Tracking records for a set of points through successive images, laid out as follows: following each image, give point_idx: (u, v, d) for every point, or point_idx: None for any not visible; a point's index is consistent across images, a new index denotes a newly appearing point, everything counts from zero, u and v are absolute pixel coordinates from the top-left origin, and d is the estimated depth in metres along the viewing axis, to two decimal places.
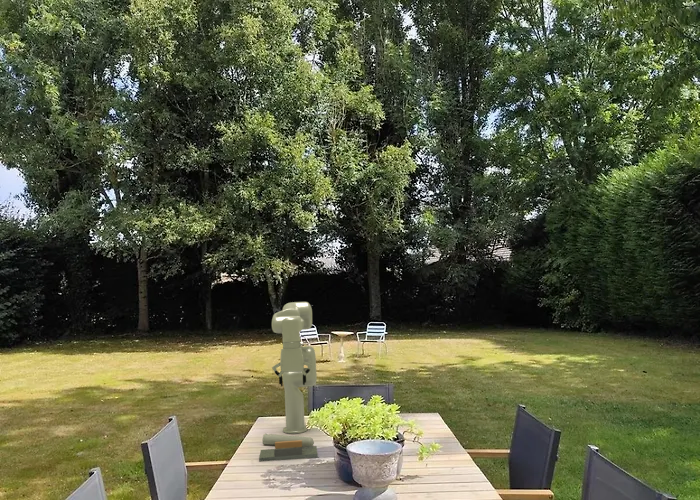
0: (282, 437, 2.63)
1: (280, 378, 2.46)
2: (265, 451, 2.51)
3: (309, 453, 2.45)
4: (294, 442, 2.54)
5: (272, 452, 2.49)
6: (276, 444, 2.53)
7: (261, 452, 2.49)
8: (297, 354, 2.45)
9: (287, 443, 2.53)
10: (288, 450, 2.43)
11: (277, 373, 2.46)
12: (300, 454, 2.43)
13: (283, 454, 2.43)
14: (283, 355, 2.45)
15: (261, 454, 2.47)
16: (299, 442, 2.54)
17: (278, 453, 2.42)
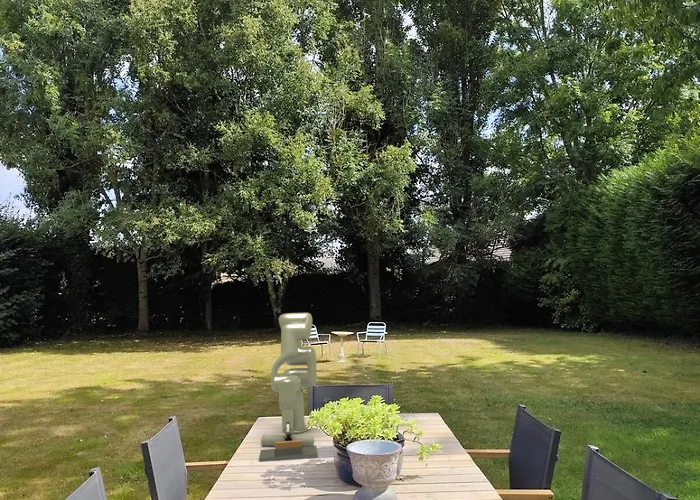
0: (282, 437, 2.62)
1: (290, 439, 2.60)
2: (265, 451, 2.51)
3: (309, 453, 2.45)
4: (294, 442, 2.54)
5: (272, 452, 2.49)
6: (276, 444, 2.53)
7: (261, 452, 2.49)
8: None
9: (287, 443, 2.53)
10: (288, 450, 2.43)
11: (290, 435, 2.59)
12: (300, 454, 2.43)
13: (283, 454, 2.43)
14: (292, 415, 2.61)
15: (261, 454, 2.47)
16: (299, 442, 2.54)
17: (278, 453, 2.42)
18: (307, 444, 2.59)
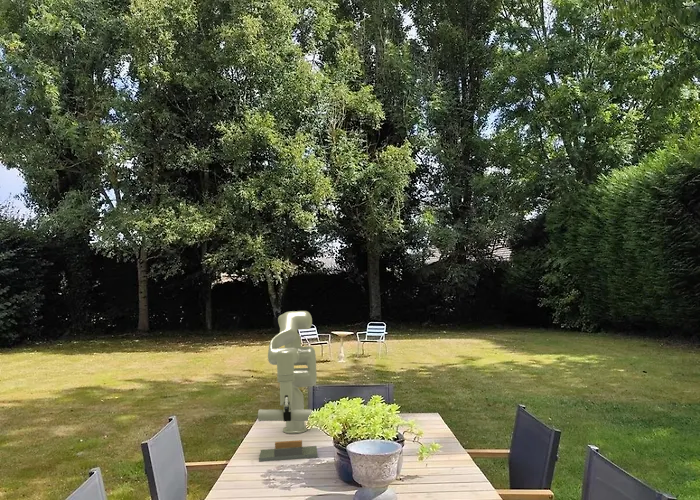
0: (280, 411, 2.49)
1: (289, 413, 2.47)
2: (265, 451, 2.51)
3: (309, 453, 2.45)
4: (294, 442, 2.54)
5: (272, 452, 2.49)
6: (276, 444, 2.53)
7: (261, 452, 2.49)
8: None
9: (287, 443, 2.53)
10: (288, 450, 2.43)
11: None
12: (300, 454, 2.43)
13: (283, 454, 2.43)
14: (291, 387, 2.47)
15: (261, 454, 2.47)
16: (299, 442, 2.54)
17: (278, 453, 2.42)
18: (307, 418, 2.46)
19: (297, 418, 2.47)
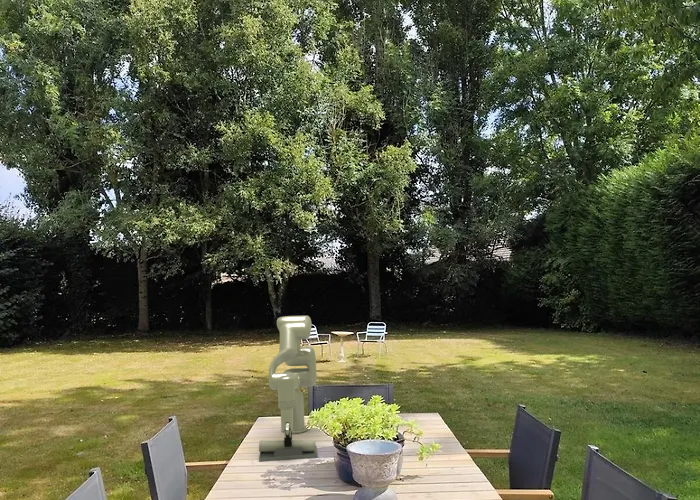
0: (281, 443, 2.48)
1: (289, 438, 2.44)
2: None
3: (309, 453, 2.45)
4: None
5: (272, 452, 2.49)
6: None
7: (261, 452, 2.49)
8: None
9: None
10: (288, 450, 2.43)
11: None
12: (300, 454, 2.43)
13: (283, 454, 2.43)
14: (292, 414, 2.46)
15: (261, 454, 2.47)
16: None
17: (278, 453, 2.42)
18: (309, 449, 2.46)
19: None
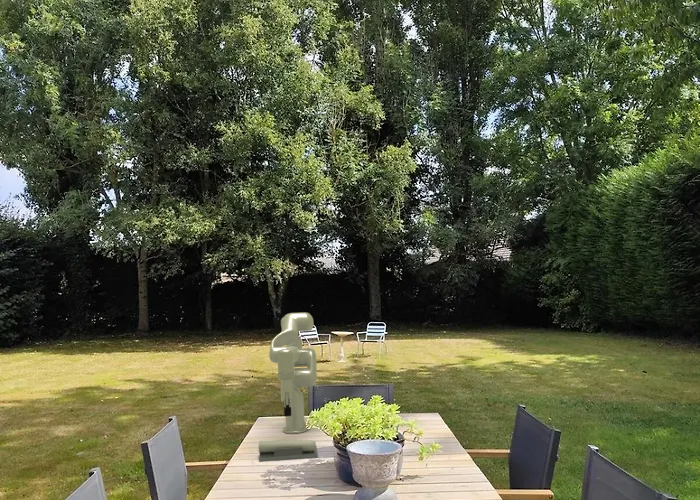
0: (281, 443, 2.47)
1: (289, 408, 2.60)
2: None
3: (309, 453, 2.45)
4: None
5: None
6: None
7: None
8: None
9: None
10: (288, 450, 2.43)
11: (289, 404, 2.59)
12: (300, 454, 2.43)
13: (283, 454, 2.43)
14: (291, 385, 2.58)
15: (261, 454, 2.47)
16: None
17: (278, 453, 2.42)
18: (309, 449, 2.46)
19: None
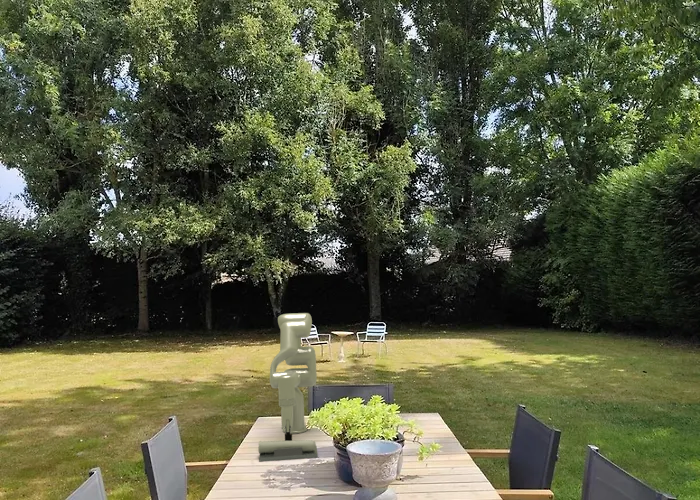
0: (281, 443, 2.47)
1: (290, 436, 2.56)
2: None
3: (309, 453, 2.45)
4: None
5: None
6: None
7: None
8: None
9: None
10: (288, 450, 2.43)
11: (289, 431, 2.54)
12: (300, 454, 2.43)
13: (283, 454, 2.43)
14: (292, 412, 2.54)
15: (261, 454, 2.47)
16: None
17: (278, 453, 2.42)
18: (309, 449, 2.46)
19: None
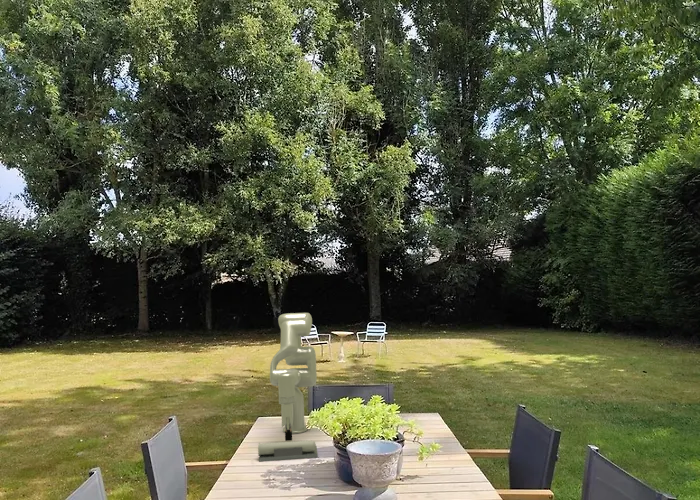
0: (281, 444, 2.45)
1: (290, 433, 2.57)
2: None
3: (309, 453, 2.45)
4: None
5: None
6: None
7: None
8: None
9: None
10: (288, 450, 2.43)
11: (290, 429, 2.56)
12: (300, 454, 2.43)
13: (283, 454, 2.43)
14: (292, 409, 2.55)
15: None
16: None
17: (278, 453, 2.42)
18: (310, 449, 2.45)
19: None
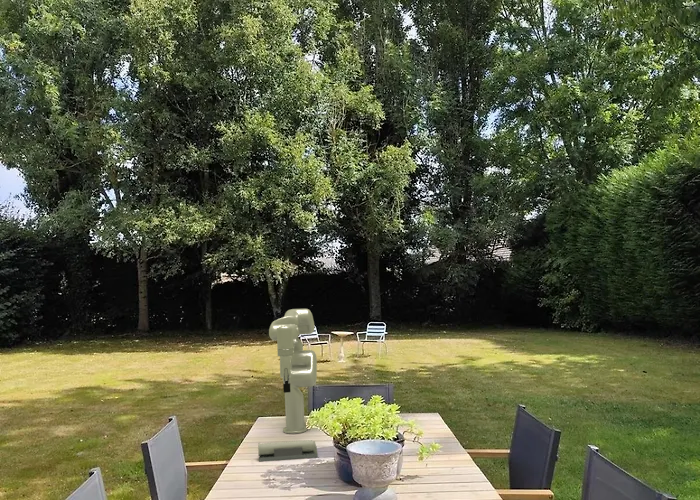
0: (281, 444, 2.45)
1: (288, 385, 2.62)
2: None
3: (309, 453, 2.45)
4: None
5: None
6: None
7: None
8: None
9: None
10: (288, 450, 2.43)
11: (288, 380, 2.61)
12: (300, 454, 2.43)
13: (283, 454, 2.43)
14: (290, 361, 2.60)
15: None
16: None
17: (278, 453, 2.42)
18: (310, 449, 2.46)
19: None
